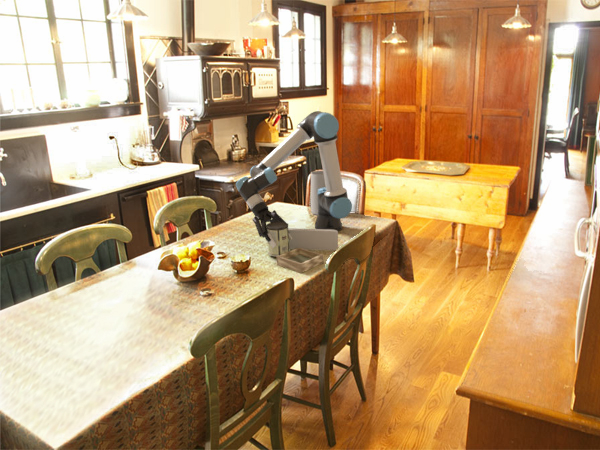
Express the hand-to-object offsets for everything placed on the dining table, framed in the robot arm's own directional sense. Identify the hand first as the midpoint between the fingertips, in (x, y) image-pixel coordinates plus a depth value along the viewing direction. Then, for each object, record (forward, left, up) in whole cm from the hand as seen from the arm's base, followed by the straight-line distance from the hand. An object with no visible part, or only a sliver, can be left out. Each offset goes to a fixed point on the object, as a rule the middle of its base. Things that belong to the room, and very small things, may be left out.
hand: (282, 243), depth 228 cm
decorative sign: (-15, +1, -7) cm, 16 cm away
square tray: (+2, +12, -7) cm, 14 cm away
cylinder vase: (-69, -33, -7) cm, 76 cm away
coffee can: (0, -3, -6) cm, 6 cm away
